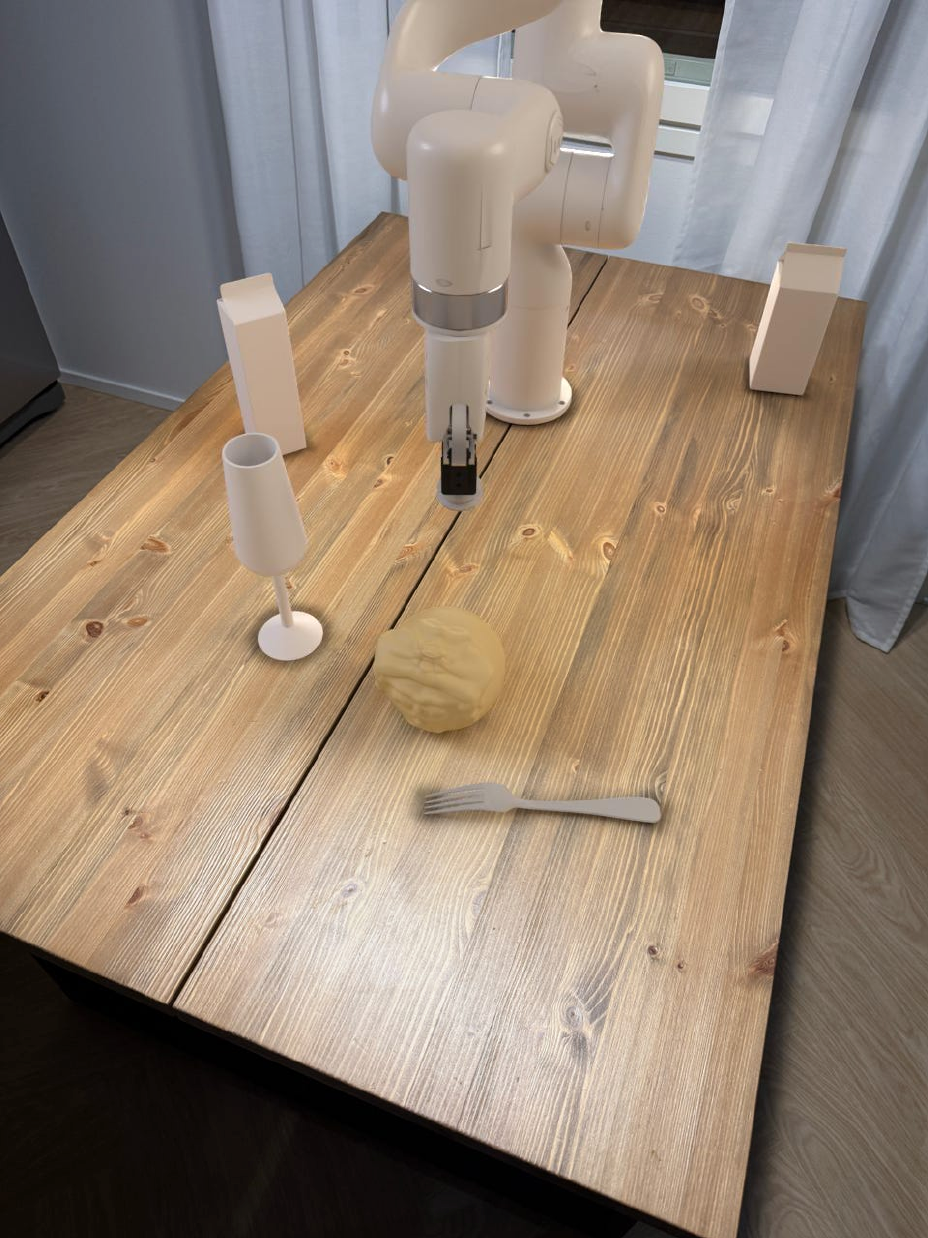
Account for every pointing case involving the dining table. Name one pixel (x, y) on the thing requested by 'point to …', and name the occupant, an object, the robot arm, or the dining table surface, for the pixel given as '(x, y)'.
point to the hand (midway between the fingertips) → (458, 476)
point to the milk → (262, 360)
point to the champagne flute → (269, 536)
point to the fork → (547, 803)
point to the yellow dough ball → (440, 668)
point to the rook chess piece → (460, 500)
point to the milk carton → (795, 317)
